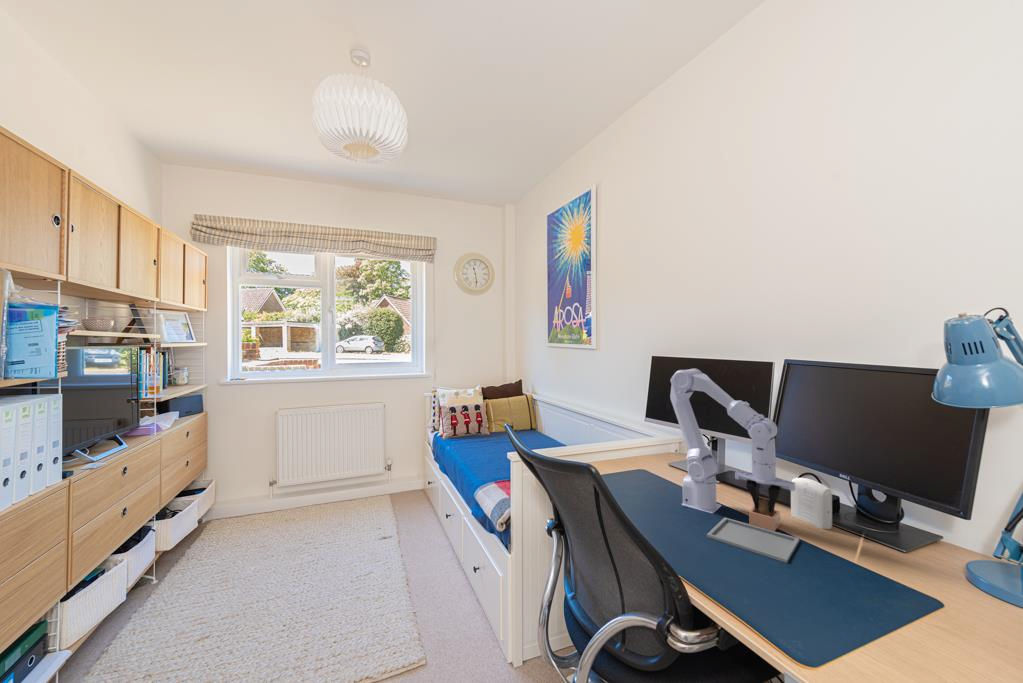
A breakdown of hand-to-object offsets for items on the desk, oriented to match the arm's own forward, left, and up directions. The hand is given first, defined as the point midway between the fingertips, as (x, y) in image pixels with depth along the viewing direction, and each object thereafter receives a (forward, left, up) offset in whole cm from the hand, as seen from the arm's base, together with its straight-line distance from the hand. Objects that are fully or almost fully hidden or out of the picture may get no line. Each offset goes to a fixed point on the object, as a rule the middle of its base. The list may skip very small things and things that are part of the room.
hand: (764, 509), depth 113 cm
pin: (0, 0, -4) cm, 4 cm away
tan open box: (0, 0, -5) cm, 5 cm away
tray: (0, -12, -5) cm, 13 cm away
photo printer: (+9, +11, -5) cm, 15 cm away
